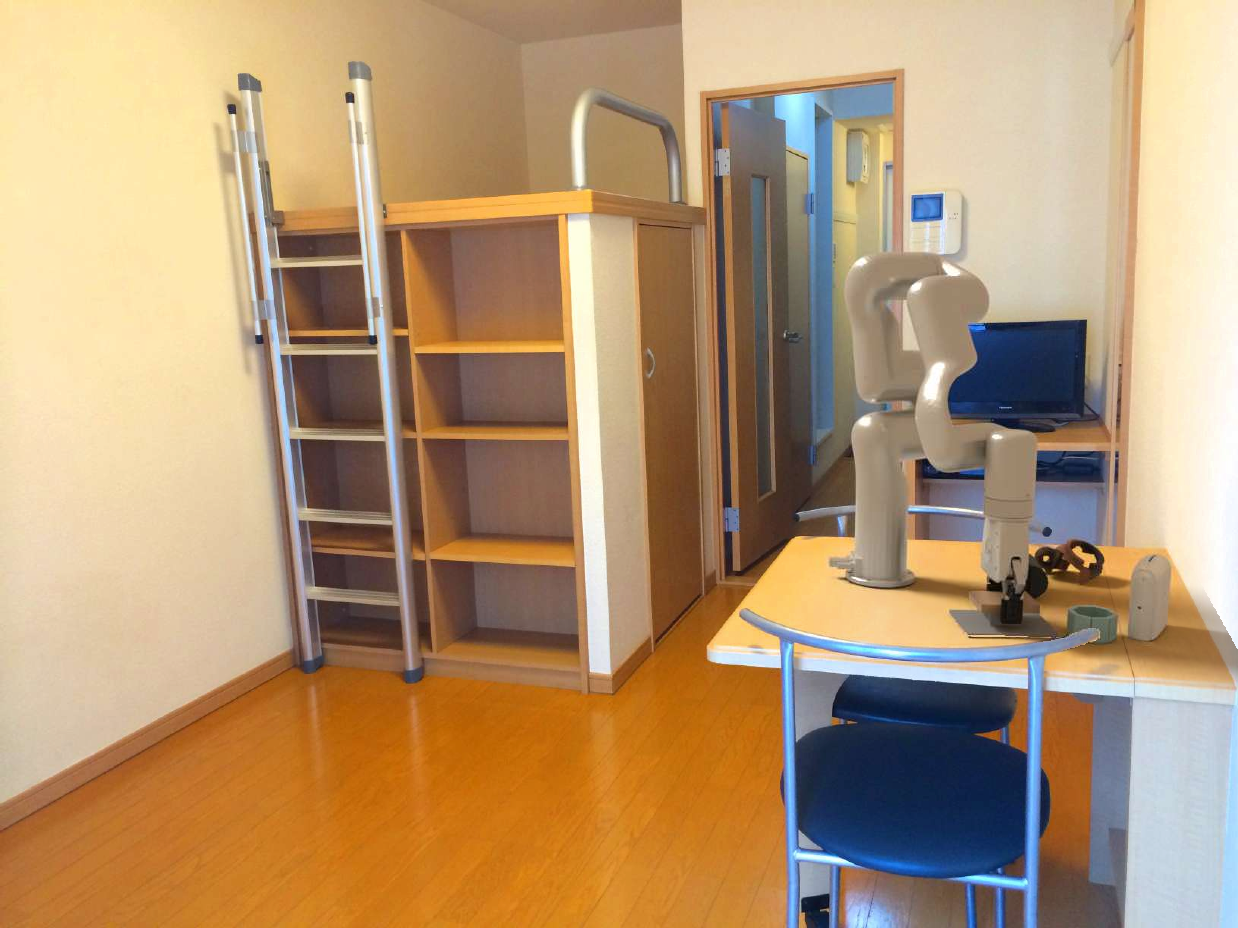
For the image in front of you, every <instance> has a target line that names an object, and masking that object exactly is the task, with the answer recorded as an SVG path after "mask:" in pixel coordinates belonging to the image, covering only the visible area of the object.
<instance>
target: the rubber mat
mask: <svg viewBox="0 0 1238 928" xmlns="http://www.w3.org/2000/svg"><path fill="white" fill-rule="evenodd" d="M948 611H949V612H948V613H950V614H951V615H950V614H949V615H950V616H951V618H952V617H953V618H954V619H955V620H956V621H955V620H954V619H953V618H952V619H953V620H954V621H955V623H956V622H957V623H958V624H959V625H958V624H957V623H956V624H957V625H958V627H959V626H960V627H961V628H962V629H963V630H964V632H966V633H967V635H1005V636H1028V637H1051V638H1050V639H1057V638H1056V637H1060V638H1061V634H1060V633H1059V632H1058V631H1057V630H1056V629H1055V627H1053V626H1052V625H1051V623H1049V622H1048V621H1047V620H1046V619H1045V618H1044V617H1043V615H1040V614H1041V613H1040V614H1039V613H1022V623H1021V624H1002V623H1001V622H1000V613H981V612H980V611H979V610H978V609H948ZM960 627H959V628H960ZM961 628H960V629H961ZM962 629H961V630H962ZM964 632H963V633H964Z"/></svg>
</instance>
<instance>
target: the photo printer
mask: <svg viewBox="0 0 1238 928" xmlns="http://www.w3.org/2000/svg"><path fill="white" fill-rule="evenodd" d="M1171 576H1172V565H1171V562H1170V560H1169V559H1168V557H1167V556H1165V555H1163V554H1157V553H1152V552H1151V553H1149V554H1147V555H1145V556H1143V557H1142V558H1140V559H1139V561H1138V562H1137V563H1136V564H1135V566H1134V568H1133V570H1132V573H1131V576H1130V577H1131V578H1130V591H1129V592H1130V593H1129V595H1130V596H1129V607H1128V621H1127V635H1128V637H1130V638H1131V639H1133V640H1137V641H1141V642H1142V641H1143V642H1150V641H1153V640H1155V639H1156V638H1157V637H1159V635H1160V634H1161V633H1163V630H1164V629H1165V628H1166V626H1167V623H1168V616H1169V615H1168V614H1169V606H1170V605H1169V604H1170V593H1171V591H1170V590H1171V578H1172V577H1171Z"/></svg>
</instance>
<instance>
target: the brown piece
mask: <svg viewBox="0 0 1238 928" xmlns="http://www.w3.org/2000/svg"><path fill="white" fill-rule="evenodd" d="M1076 547H1080V549H1081V553H1083V554H1088V555H1093V556H1094V558H1095V562H1089V565H1088V567H1087V566H1084V564H1085V560H1084V559H1083V558H1081V557H1079V556H1078V555H1077V554H1076V553H1075V552H1074V551H1073V550H1074V549H1076ZM1033 557H1034V558H1035V559H1036V560H1037V562H1038V563H1039V565H1040V566H1041V567H1042V569H1043V570H1044V571H1045V573H1046V574H1047V575H1052V573H1053V570H1059V571H1063V572H1067V571H1068V569H1069V566H1071V565H1072V567H1074V568H1075V569H1076V570H1078V571H1079V575H1078V576H1077V578H1076V580H1075V581H1076V583H1077V584H1079V585H1081V584H1084V585H1086V583H1088V582H1089V580H1090V581H1092V580H1094V579H1096V578H1098V577H1099V576H1101V574H1102V573H1103V569H1104V568H1103V565H1104V564H1105V557H1104V555H1103V553H1102V552H1101V551H1100V549H1099V548H1097V547H1096V546H1095V545H1093V544H1092V543H1089V542H1087V541H1086V540H1081V539H1076V538H1073V539H1072V538H1071V539H1068V540H1067V541H1066V543H1061V544H1060V545H1057V546H1056V547H1055V548H1053V547H1049V546H1042V547H1040V548H1038V549H1037V550H1036V551H1035V553H1034V555H1033ZM1044 557H1048V558H1047V560H1044Z"/></svg>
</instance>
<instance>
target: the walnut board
mask: <svg viewBox="0 0 1238 928" xmlns="http://www.w3.org/2000/svg"><path fill="white" fill-rule="evenodd" d="M1023 595H1024V599H1023V611H1022V613H1038V614H1041V604H1040V603H1039V602H1038V601H1037V600H1036V599H1035V600H1034V599H1033V598H1032V597H1031V596H1030V595H1029V594H1028V593H1027V592H1026V591H1024V592H1023ZM1001 599H1004V597H1003V591H986V590H969V591H968V600H969V601H970V602H971V604H973V606H974V608H976V610H979V611H980V612H981V613H1000V611H1001Z"/></svg>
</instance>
